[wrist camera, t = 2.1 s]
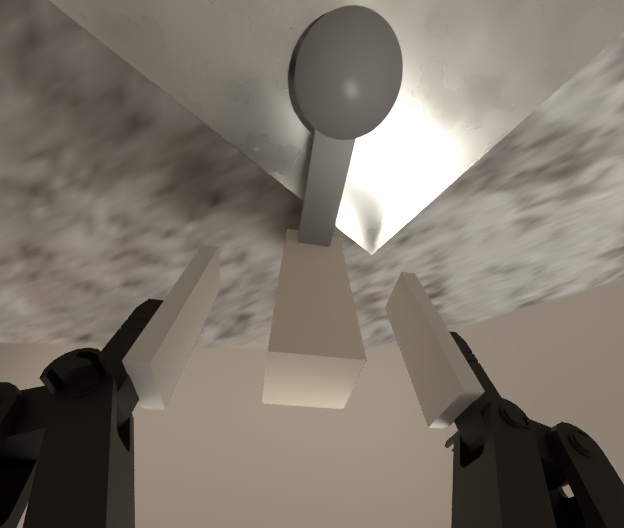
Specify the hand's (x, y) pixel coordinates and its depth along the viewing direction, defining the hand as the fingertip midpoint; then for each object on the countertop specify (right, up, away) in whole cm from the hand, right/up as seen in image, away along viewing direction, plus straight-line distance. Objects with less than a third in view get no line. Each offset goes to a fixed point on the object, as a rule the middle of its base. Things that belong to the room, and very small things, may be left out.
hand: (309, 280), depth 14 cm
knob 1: (+1, +5, 0) cm, 5 cm away
